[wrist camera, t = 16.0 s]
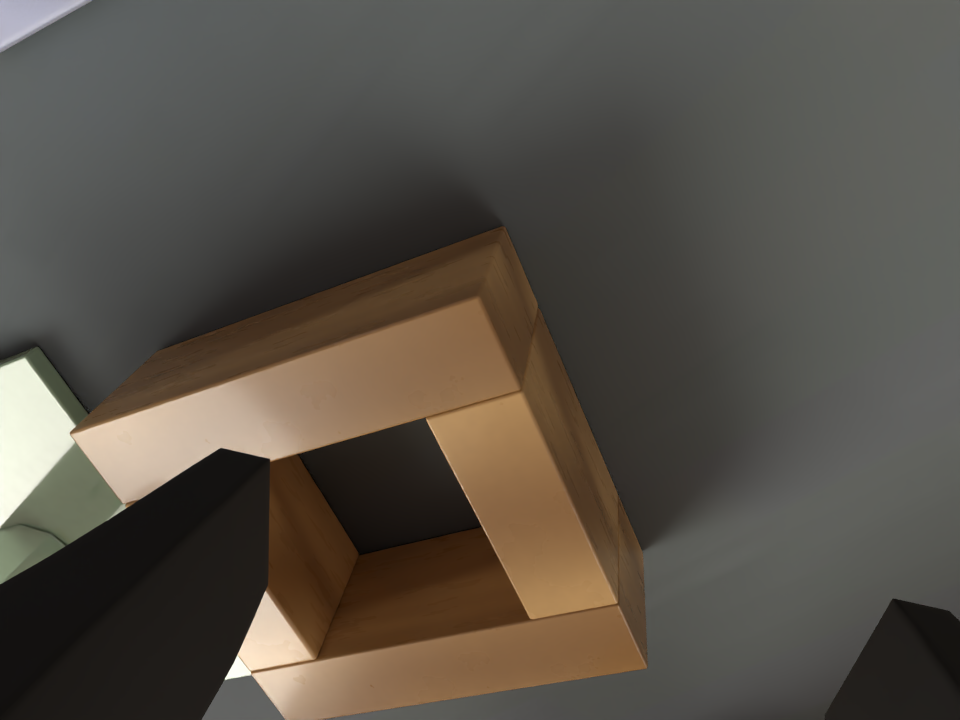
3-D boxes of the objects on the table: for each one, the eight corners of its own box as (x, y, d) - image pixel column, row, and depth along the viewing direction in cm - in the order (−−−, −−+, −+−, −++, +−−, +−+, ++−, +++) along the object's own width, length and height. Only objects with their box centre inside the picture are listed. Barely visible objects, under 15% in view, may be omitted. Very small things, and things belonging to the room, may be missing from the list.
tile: (-169, 425, 25) (-185, 436, 24) (38, 345, 22) (24, 355, 21) (76, 696, 30) (67, 710, 29) (270, 659, 27) (263, 674, 26)
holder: (156, 350, 21) (66, 433, 18) (505, 224, 18) (478, 294, 14) (333, 616, 25) (288, 725, 22) (643, 553, 22) (648, 669, 19)
